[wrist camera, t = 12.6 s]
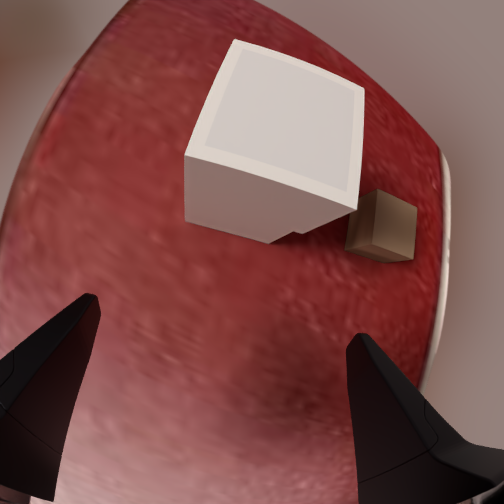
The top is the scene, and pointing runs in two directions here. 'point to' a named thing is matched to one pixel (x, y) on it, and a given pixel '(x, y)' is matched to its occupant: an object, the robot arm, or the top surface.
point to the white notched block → (274, 147)
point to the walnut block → (382, 228)
